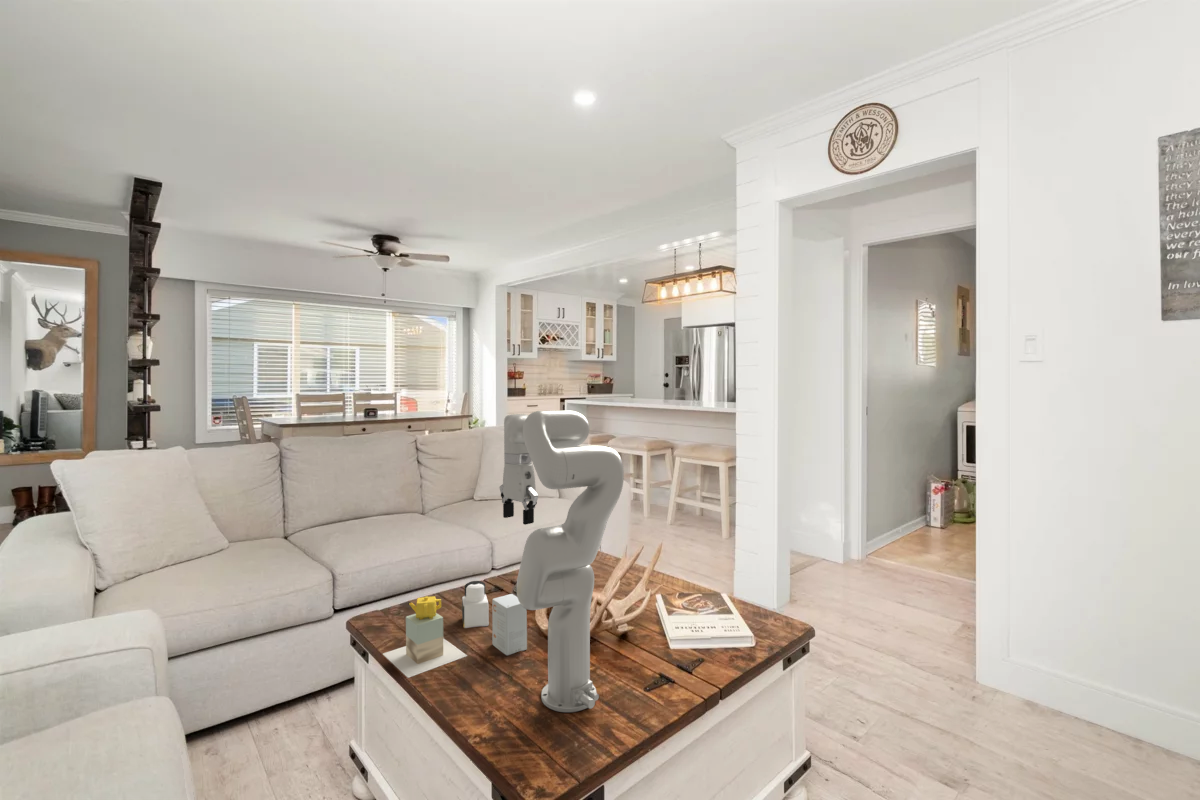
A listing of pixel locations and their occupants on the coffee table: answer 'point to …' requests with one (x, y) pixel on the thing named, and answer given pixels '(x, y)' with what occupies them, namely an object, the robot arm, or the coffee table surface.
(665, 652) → the coffee table surface
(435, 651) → the tower bottom
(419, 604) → the teapot
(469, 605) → the medicine bottle
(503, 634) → the small box
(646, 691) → the coffee table surface
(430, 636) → the tower top
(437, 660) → the felt pad
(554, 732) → the coffee table surface
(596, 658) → the coffee table surface
